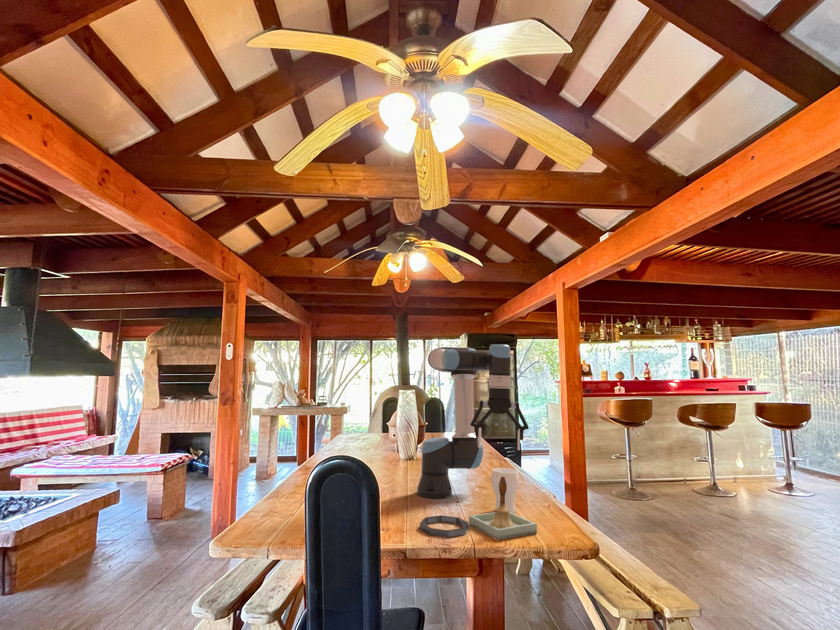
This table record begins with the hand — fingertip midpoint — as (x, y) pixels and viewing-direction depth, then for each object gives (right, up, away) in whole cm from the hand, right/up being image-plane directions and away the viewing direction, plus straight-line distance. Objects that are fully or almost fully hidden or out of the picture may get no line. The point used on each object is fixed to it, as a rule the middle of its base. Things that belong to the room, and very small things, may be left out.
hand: (499, 448), depth 157 cm
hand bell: (0, -24, -7) cm, 25 cm away
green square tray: (0, -25, -7) cm, 26 cm away
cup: (+5, -28, +14) cm, 32 cm away
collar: (-20, -25, -8) cm, 32 cm away
